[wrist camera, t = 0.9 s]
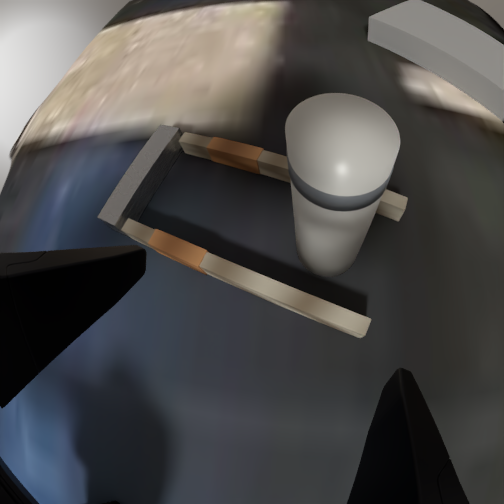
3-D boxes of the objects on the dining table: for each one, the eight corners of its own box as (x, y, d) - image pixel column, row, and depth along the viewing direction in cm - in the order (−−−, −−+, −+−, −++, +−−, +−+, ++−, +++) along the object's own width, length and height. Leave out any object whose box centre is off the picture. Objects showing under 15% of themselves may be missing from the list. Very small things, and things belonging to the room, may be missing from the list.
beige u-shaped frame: (401, 208, 23) (409, 193, 21) (359, 339, 20) (366, 336, 18) (169, 139, 30) (160, 123, 28) (110, 229, 27) (96, 218, 25)
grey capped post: (321, 290, 22) (339, 201, 10) (283, 241, 24) (260, 122, 12) (370, 253, 22) (423, 142, 10) (331, 208, 24) (344, 80, 12)
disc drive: (506, 128, 25) (520, 102, 20) (366, 43, 33) (368, 15, 29) (521, 83, 27) (531, 63, 23) (412, 18, 36) (415, -4, 31)
